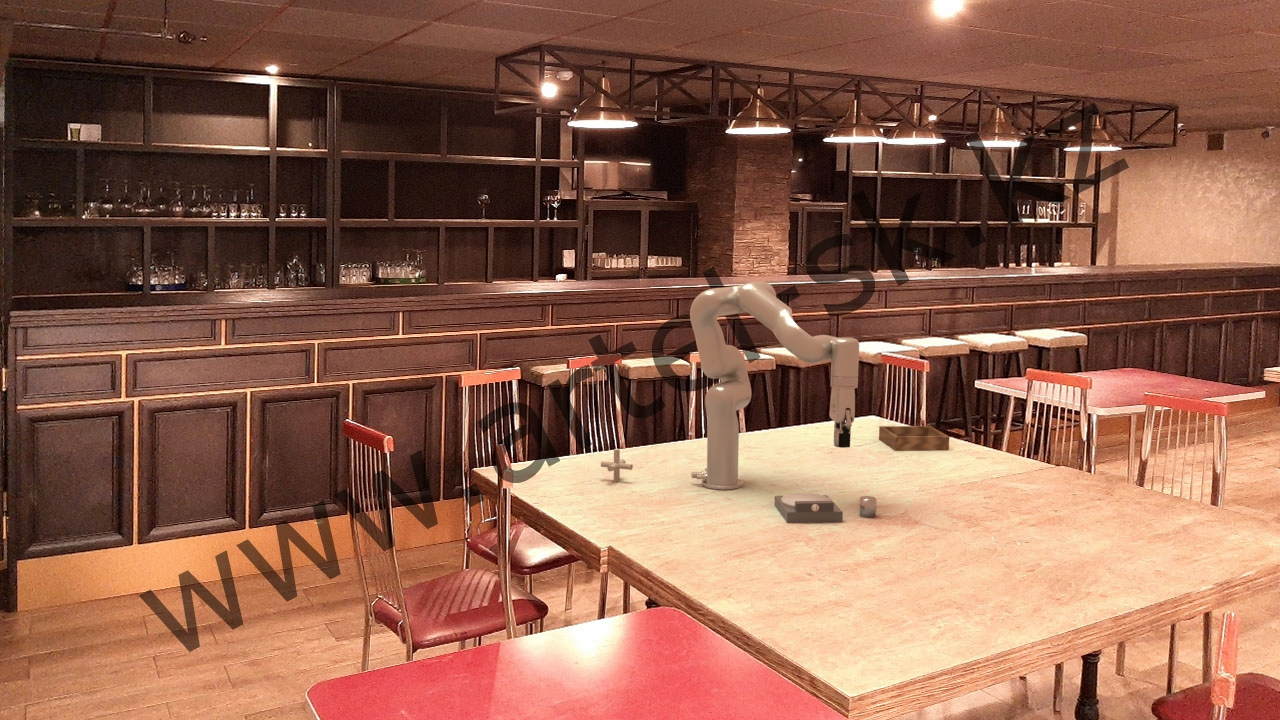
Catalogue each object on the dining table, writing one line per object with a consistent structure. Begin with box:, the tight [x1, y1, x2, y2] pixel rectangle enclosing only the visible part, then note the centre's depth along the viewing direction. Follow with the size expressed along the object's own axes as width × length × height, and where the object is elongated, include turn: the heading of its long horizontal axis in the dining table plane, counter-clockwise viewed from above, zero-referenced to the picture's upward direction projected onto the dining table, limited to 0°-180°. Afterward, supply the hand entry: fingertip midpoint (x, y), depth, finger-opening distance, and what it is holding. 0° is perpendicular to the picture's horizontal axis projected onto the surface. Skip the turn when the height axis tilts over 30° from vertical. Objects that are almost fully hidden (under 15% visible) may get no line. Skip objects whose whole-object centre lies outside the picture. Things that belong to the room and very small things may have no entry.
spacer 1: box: [833, 427, 848, 449], centre depth 292 cm, size 4×4×5 cm
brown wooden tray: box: [878, 425, 950, 452], centre depth 373 cm, size 19×19×5 cm
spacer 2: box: [858, 495, 877, 519], centre depth 281 cm, size 4×4×5 cm
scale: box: [774, 492, 844, 524], centre depth 283 cm, size 15×17×5 cm
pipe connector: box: [600, 448, 634, 483], centre depth 317 cm, size 10×10×10 cm
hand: (841, 444), depth 292 cm, fingers closed on spacer 1, 4 cm apart
